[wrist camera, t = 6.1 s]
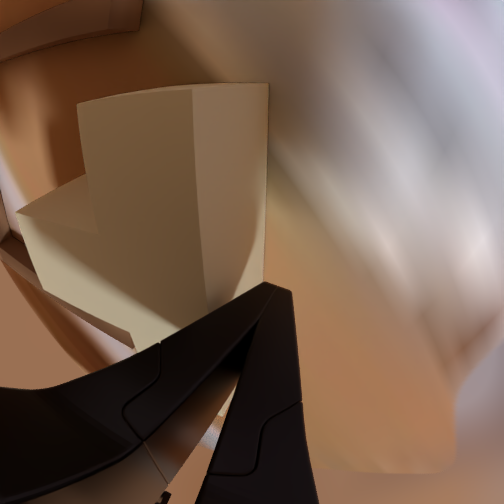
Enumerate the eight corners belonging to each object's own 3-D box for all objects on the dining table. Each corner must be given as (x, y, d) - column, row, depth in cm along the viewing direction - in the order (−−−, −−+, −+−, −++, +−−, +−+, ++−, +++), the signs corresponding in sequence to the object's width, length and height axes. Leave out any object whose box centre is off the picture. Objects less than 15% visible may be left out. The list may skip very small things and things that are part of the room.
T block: (260, 340, 13) (222, 416, 10) (118, 294, 15) (70, 342, 12) (268, 83, 7) (192, 89, 4) (78, 100, 10) (-4, 126, 7)
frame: (147, 330, 16) (132, 348, 15) (8, 246, 19) (-4, 255, 18) (144, -8, 7) (113, -14, 6) (-18, 50, 10) (-36, 55, 9)
